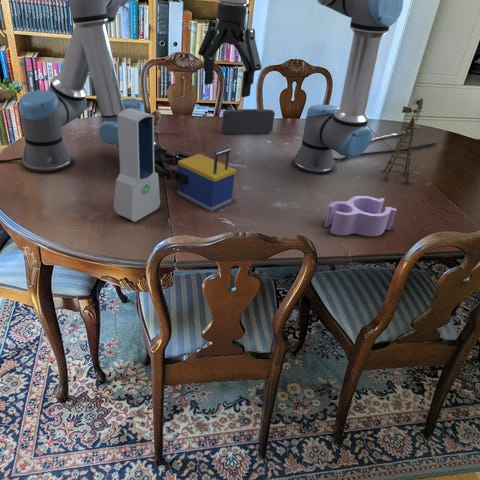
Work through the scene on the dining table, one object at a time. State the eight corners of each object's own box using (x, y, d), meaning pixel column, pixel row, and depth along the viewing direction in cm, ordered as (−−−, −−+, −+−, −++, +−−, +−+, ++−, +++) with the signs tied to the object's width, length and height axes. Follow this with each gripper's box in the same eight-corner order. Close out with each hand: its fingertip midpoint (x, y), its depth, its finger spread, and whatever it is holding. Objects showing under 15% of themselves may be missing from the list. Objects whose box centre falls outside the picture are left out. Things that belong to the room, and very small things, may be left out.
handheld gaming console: (270, 130, 208) (273, 108, 202) (272, 133, 206) (275, 110, 200) (221, 132, 201) (222, 109, 195) (222, 134, 199) (224, 111, 193)
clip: (337, 240, 135) (342, 219, 131) (318, 218, 145) (322, 198, 141) (395, 233, 141) (402, 213, 137) (373, 213, 151) (378, 194, 147)
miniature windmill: (407, 184, 173) (433, 103, 157) (384, 180, 174) (407, 99, 158) (405, 174, 181) (429, 96, 164) (383, 170, 182) (405, 93, 165)
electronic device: (132, 223, 132) (128, 120, 116) (113, 215, 135) (106, 113, 119) (161, 207, 141) (161, 110, 125) (142, 199, 144) (140, 103, 128)
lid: (235, 173, 143) (238, 147, 139) (214, 181, 137) (216, 155, 133) (199, 156, 151) (200, 132, 147) (177, 164, 145) (178, 139, 140)
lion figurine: (159, 130, 196) (159, 108, 191) (162, 134, 192) (162, 113, 187) (124, 131, 191) (123, 109, 186) (126, 135, 187) (125, 113, 182)
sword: (405, 131, 224) (406, 128, 224) (410, 133, 222) (411, 130, 222) (362, 142, 208) (362, 140, 208) (367, 144, 206) (368, 142, 206)
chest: (231, 201, 149) (234, 172, 144) (211, 211, 143) (213, 181, 137) (198, 184, 157) (199, 157, 151) (177, 193, 150) (177, 164, 145)
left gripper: (175, 155, 169) (220, 177, 158) (125, 172, 154) (171, 196, 143) (175, 136, 165) (222, 156, 153) (124, 150, 150) (172, 174, 139)
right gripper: (282, 11, 112) (270, 99, 124) (207, -4, 125) (203, 77, 136) (263, 12, 107) (253, 104, 119) (187, -4, 120) (184, 80, 131)
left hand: (197, 175), depth 148 cm, fingers closed on chest, 10 cm apart
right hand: (226, 90), depth 127 cm, fingers open, 13 cm apart
